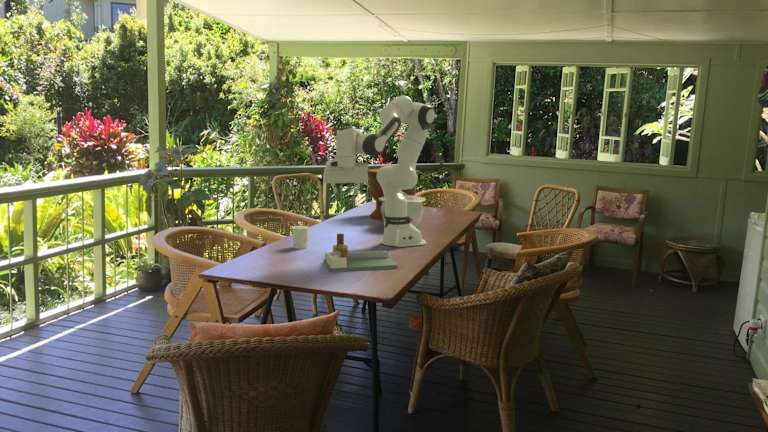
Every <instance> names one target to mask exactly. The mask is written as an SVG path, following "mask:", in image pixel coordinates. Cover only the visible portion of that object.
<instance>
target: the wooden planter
mask: <svg viewBox="0 0 768 432" xmlns="http://www.w3.org/2000/svg"><path fill="white" fill-rule="evenodd" d="M379 169H380V168H370V169H369V168H368V171H367V173H368V182H369V183H368V184H369V185H368V193H369V195H370V197H371V199H373V200H374V201H375V209H374V210H373V211H372V212H371V213H370V214H369V215H368V217H369V218H370V219H373V220H378V221H384V220H383V218H382V215H381V206H382V201H380V200H379V198H380V197H383V196H384V194H383V190H382V187H381V185H380V183H379V182H378V181H377V177H376V176H377V171H378V170H379ZM415 170H416V174H417V177H418V176H419V175H420V173H421V172H422V171H420V170H418V169H415ZM402 192H405V193H406V194H407V195H415V196H416V186H415V187H413V188H411V189H406V190H402Z"/></svg>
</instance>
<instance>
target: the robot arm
mask: <svg viewBox="0 0 768 432" xmlns="http://www.w3.org/2000/svg"><path fill="white" fill-rule="evenodd" d="M435 119H436V110H435V108H434V107H433V106H432V105H429V104H425V103H422V102H417V101H416V102H414V101H413V100H412V99H411V97H409V96H407V95H399V96H398V97H396V98H394V99H392V100H391V101H390V102H389V103H386V105H385V106H384V107H383V108H382V109H381V111H379V121H380V123H381V125H382V127H381V129H379V131H378V132H376V133H363V132H360V131H358V130H357V129H356V128H355V126H354V125H344V126H340V127H339V128H338V129H337V131H336V136H335V146H336V154H335V158H333V159H330V160H327V161H325V165H326V167H325V168H324V169H323V174H322V175H323V176H322V180H323V182H324V183H325V184H330V185H331V188H332V190H333V194H338V188H335V186H336V184H356V187H355V188H353V193H354V194H358V192H359V188H360V186H361V184H367V183H368V182H369V177H368V173H367V171H368V169H369V165H368V163H366V162H363V161H362V162H357V161H356V158H357V155H362V156H370V157H374V158H375V157H376V158H377V157H379V156H380V155H381V154H382V153H383V152H384V150H385V148H386V146H387V144H388V143H389V142H390V140H391V139H392V138H393V137H394V136H395V135H396V134H397V133H398V131H399V130H400V128H401V126H402V123H404V124H407V125H408V127H407V130H406V132H405V133H404V135H403V137H402V139H401V141H400V144H399V145H398V148H397V150H396V155H397V157H398V159H397V163H396V165H384V166H381V167H380V168H378V169H379V170H378V171H377V176H376V177H377V181H378V182H379V183H380V185H381V187H382V190H383V194H384V198H385V216H384V220H383V226H384V227H383V228H384V229H383V234H382V240H381V244H383V245H386V246H391V247H398V248H404V247H412V246H425V245H427V242H426V240H425V239H423V238H422V237H423V236H422V233H421V231H420V229H419V228H417V226H416V227H415V226H413V225H412V224H411V223H410V222H412V221H413V220H414V219H413V218H412V217H409V216H407V200H406V198H405V197H404V195H403V193H402V190H406V189H411V188H413V187H415V188H416V185H417V183H418V178H419V177H418V176H417V174H416V170H417V168H416V167H417V166H416V165H417V161H418V160H419V159H418V158H419V156H420V155H421V152H422V149H423V148H424V146H425V143H426V140H427V137H428V129H429V128H430V127H431V126H432V125H433V123H434V122H435Z"/></svg>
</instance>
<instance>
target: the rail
mask: <svg viewBox="0 0 768 432" xmlns="http://www.w3.org/2000/svg"><path fill="white" fill-rule="evenodd" d="M327 253H328V252H326V253H324V254H325V255H324V257H325V258H324V259H325V260H326V261H327ZM388 257H389V250H367V251H365V250H364V251H348V253H347V260H351V259H373V258H388Z"/></svg>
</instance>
